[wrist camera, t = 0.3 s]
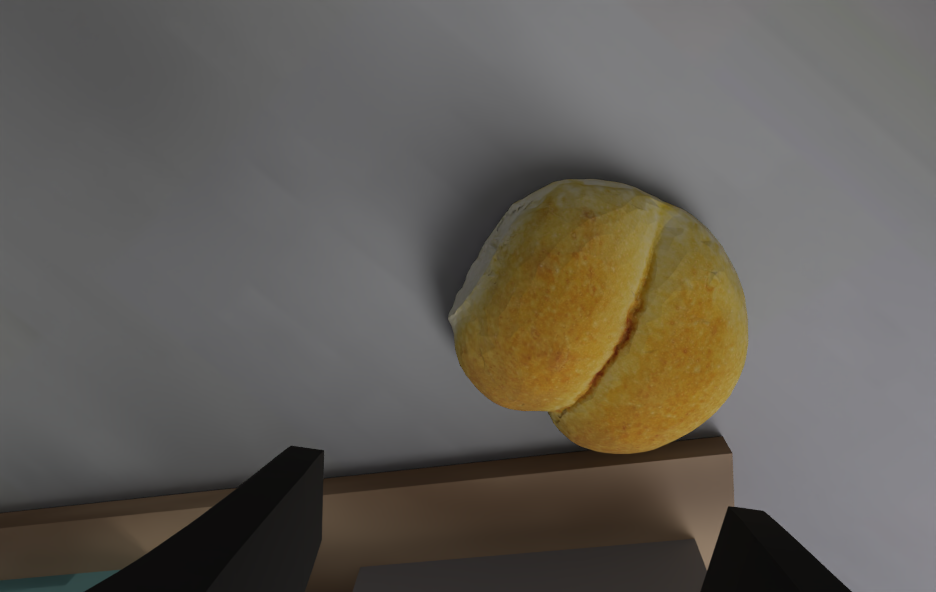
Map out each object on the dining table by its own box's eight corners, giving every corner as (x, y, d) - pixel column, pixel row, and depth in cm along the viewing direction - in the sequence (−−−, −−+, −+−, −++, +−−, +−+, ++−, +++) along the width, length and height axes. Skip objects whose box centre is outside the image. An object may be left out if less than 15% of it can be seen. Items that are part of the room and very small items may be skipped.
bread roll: (639, 455, 22) (664, 534, 18) (425, 340, 21) (405, 399, 17) (790, 270, 19) (858, 319, 15) (550, 128, 18) (558, 142, 14)
